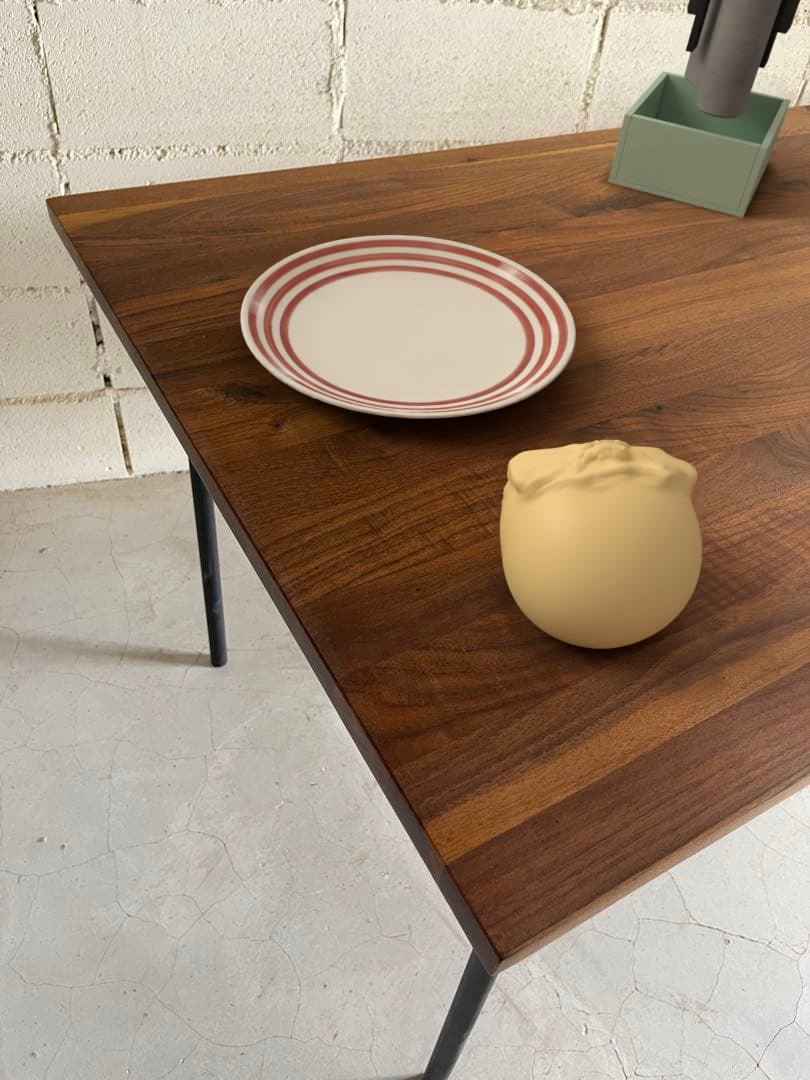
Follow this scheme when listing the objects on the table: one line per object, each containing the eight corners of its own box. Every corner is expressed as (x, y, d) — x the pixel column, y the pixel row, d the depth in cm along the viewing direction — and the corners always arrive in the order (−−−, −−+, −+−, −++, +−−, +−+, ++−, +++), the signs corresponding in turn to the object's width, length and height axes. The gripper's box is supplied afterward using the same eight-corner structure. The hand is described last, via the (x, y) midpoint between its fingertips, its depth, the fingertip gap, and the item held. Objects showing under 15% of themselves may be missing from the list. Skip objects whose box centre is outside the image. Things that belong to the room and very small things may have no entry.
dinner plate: (312, 481, 61) (313, 444, 59) (201, 289, 78) (198, 254, 76) (632, 405, 71) (643, 370, 69) (472, 248, 88) (477, 216, 86)
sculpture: (635, 527, 61) (683, 399, 53) (700, 667, 53) (767, 539, 45) (473, 534, 59) (499, 402, 52) (514, 680, 51) (551, 549, 43)
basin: (766, 165, 110) (791, 99, 105) (741, 220, 98) (767, 148, 93) (645, 135, 114) (662, 70, 109) (607, 184, 102) (624, 113, 97)
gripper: (695, -231, 81) (629, 45, 97) (924, -199, 76) (815, 86, 92) (711, -234, 86) (646, 29, 102) (927, -203, 81) (823, 68, 97)
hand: (726, 56), depth 97 cm, fingers closed on flask, 7 cm apart
